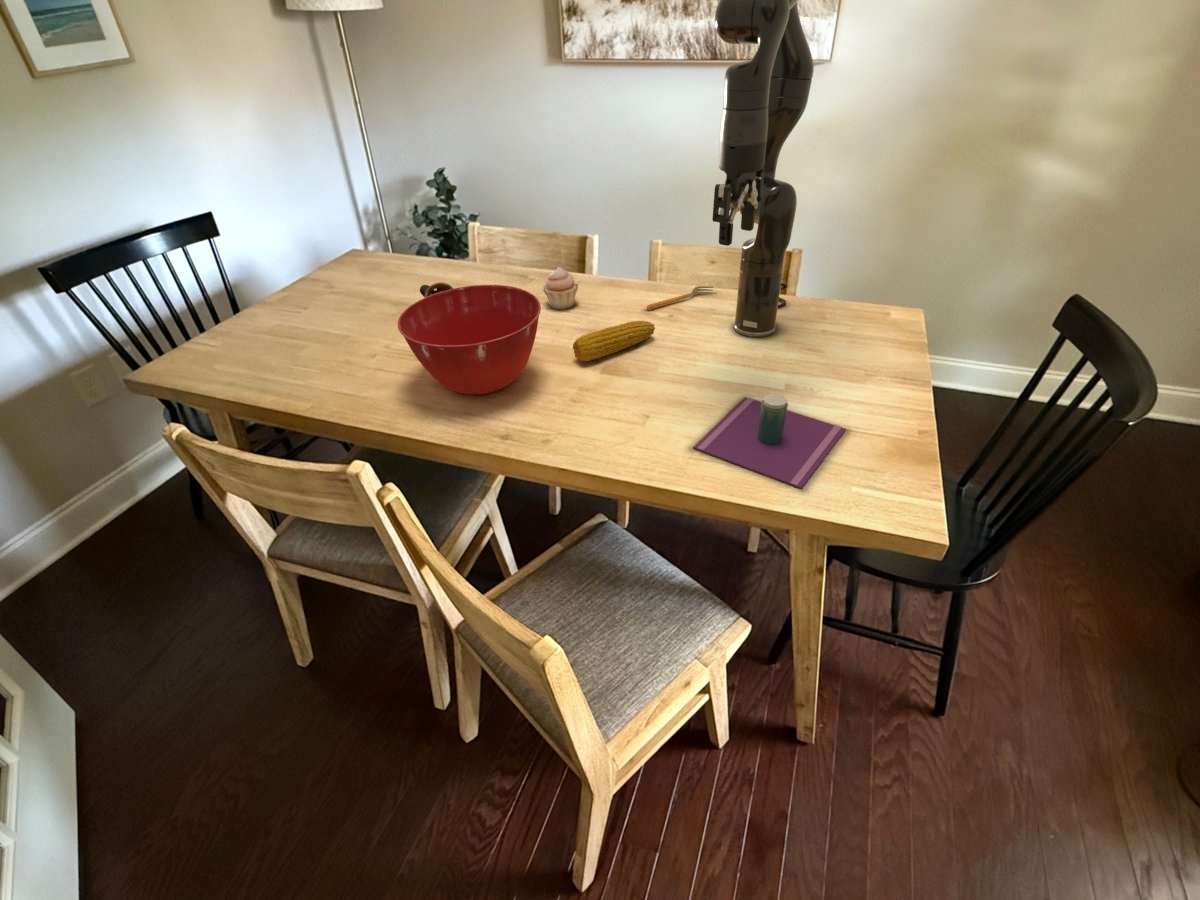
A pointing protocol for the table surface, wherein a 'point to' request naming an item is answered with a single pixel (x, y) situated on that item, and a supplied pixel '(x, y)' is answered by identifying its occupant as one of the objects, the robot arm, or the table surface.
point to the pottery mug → (429, 290)
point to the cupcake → (560, 289)
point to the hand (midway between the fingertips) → (736, 237)
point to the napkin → (781, 461)
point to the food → (611, 339)
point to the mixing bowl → (473, 335)
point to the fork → (679, 297)
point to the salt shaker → (772, 419)
